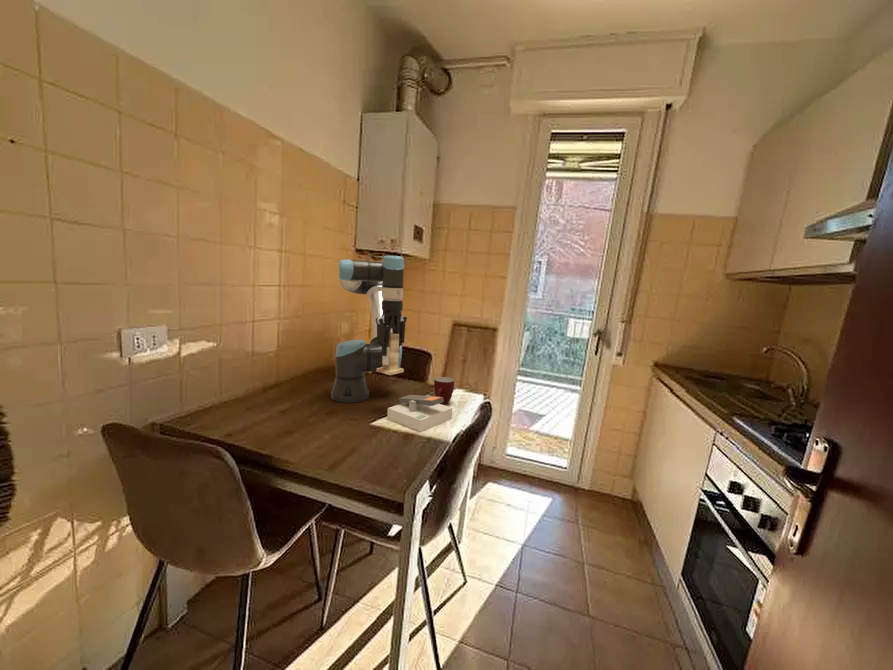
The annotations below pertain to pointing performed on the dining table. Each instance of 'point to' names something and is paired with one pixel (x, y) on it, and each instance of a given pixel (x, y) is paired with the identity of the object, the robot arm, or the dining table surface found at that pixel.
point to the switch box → (419, 415)
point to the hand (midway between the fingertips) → (390, 363)
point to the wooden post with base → (392, 357)
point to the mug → (444, 388)
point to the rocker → (422, 400)
